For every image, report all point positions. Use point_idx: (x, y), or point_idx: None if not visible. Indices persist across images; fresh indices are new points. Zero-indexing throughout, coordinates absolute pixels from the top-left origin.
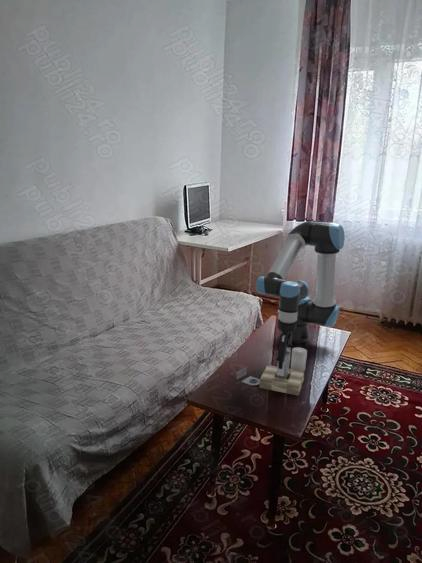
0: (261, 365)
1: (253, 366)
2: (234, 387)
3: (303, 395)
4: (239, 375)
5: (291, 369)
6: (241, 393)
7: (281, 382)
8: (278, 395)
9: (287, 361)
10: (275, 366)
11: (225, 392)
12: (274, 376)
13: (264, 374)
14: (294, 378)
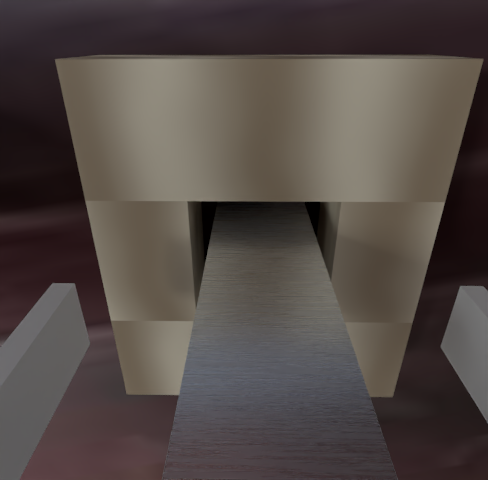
0: None
1: (104, 416)
2: (405, 440)
3: (414, 3)
4: None
5: (93, 211)
6: (467, 403)
7: (419, 252)
8: (455, 216)
9: (359, 375)
10: (122, 344)
11: (469, 458)
12: None
13: None
14: (292, 148)
